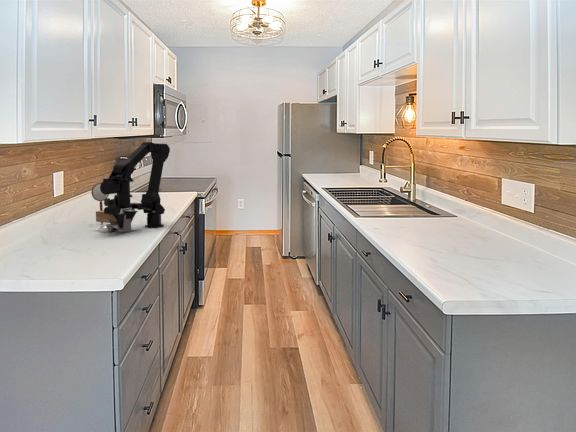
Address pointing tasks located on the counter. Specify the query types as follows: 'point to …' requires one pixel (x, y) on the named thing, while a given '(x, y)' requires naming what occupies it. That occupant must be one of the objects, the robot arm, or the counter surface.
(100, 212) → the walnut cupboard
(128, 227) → the spatula tool
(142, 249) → the counter surface
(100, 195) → the magnifying glass
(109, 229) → the steel puck
